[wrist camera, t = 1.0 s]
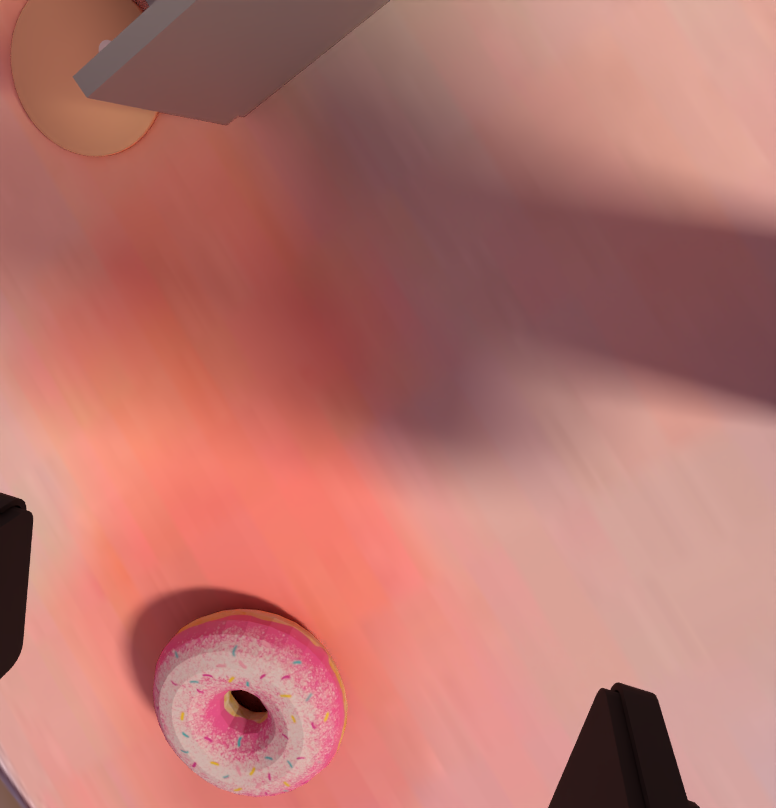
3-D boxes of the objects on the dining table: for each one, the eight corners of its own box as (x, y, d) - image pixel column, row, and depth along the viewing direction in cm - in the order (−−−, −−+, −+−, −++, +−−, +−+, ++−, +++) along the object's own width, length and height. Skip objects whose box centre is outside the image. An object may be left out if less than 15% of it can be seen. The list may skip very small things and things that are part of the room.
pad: (96, -61, 37) (91, -63, 37) (196, 93, 38) (193, 92, 38) (-15, 48, 40) (-20, 47, 39) (82, 188, 41) (78, 188, 41)
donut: (298, 568, 46) (273, 611, 42) (389, 727, 49) (375, 785, 44) (140, 628, 50) (101, 674, 46) (232, 773, 53) (203, 831, 48)
